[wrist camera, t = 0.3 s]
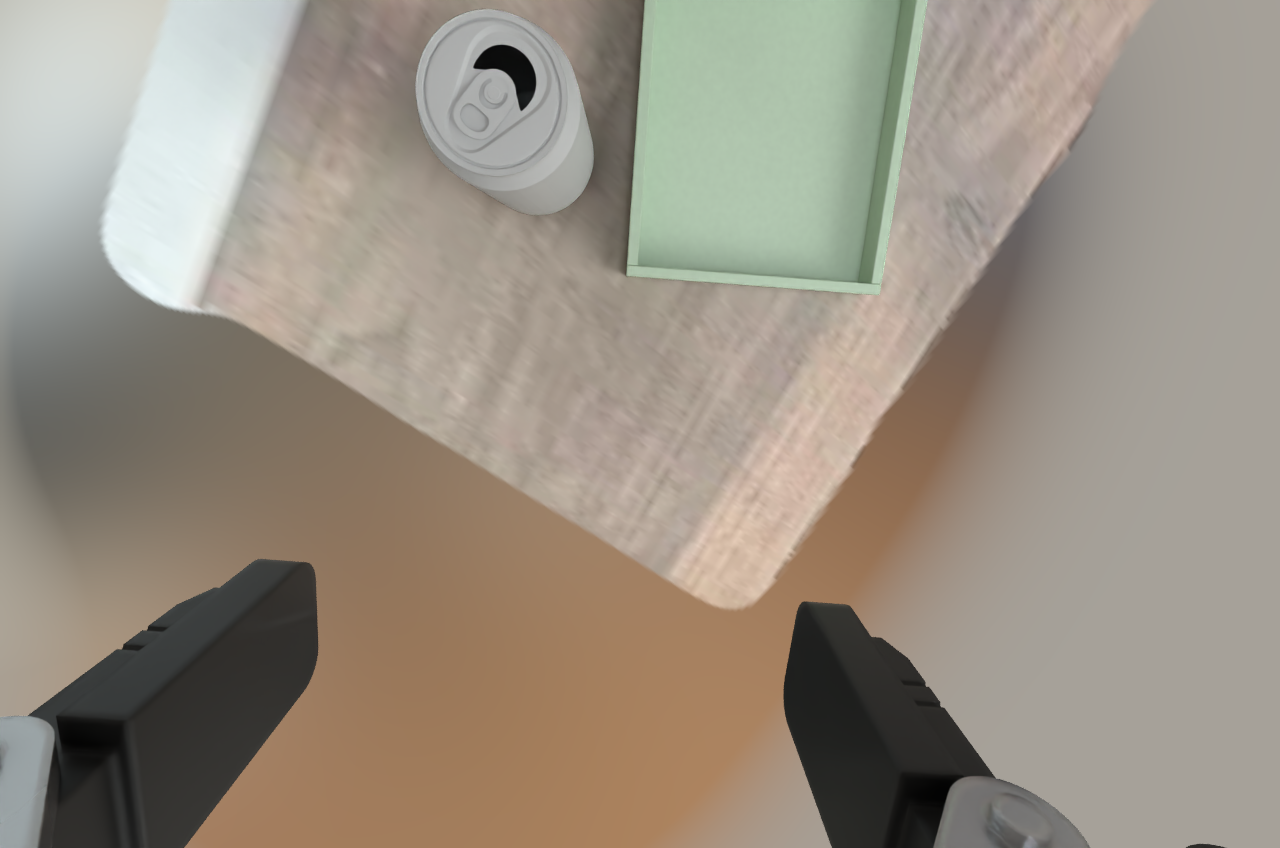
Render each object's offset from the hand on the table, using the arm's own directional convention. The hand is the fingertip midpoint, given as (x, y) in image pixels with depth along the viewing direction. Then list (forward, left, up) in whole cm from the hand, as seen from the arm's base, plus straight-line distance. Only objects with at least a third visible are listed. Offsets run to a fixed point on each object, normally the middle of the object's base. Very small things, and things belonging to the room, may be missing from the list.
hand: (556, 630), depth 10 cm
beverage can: (-12, -5, -28) cm, 31 cm away
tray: (-14, +8, -28) cm, 32 cm away
